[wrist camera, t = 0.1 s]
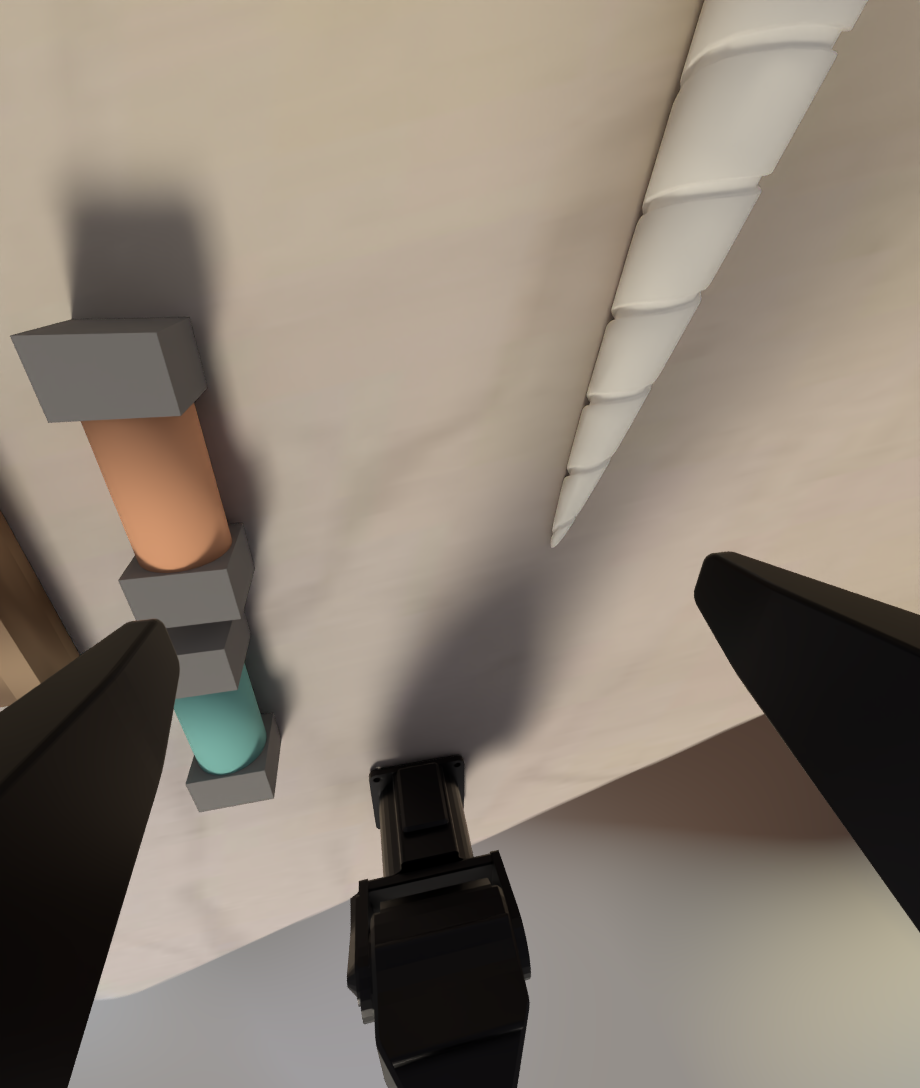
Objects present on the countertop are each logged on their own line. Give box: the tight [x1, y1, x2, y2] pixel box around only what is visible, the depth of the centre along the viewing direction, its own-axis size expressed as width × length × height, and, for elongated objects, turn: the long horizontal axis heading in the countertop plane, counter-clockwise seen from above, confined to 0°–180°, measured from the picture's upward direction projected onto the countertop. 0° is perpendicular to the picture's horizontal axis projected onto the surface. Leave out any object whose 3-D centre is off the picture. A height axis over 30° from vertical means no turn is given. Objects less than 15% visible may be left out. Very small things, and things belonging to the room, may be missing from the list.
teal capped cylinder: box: [166, 610, 281, 812], centre depth 25 cm, size 11×4×4 cm, turn 0°
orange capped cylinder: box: [10, 317, 255, 628], centre depth 19 cm, size 11×4×4 cm, turn 0°
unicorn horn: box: [551, 0, 868, 548], centre depth 19 cm, size 5×24×5 cm, turn 163°
